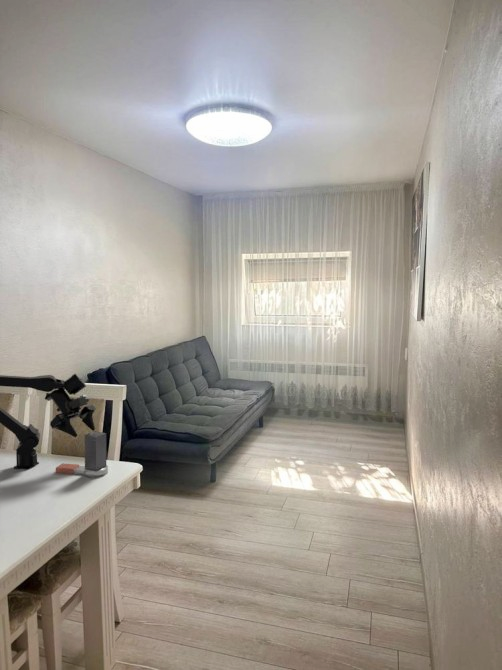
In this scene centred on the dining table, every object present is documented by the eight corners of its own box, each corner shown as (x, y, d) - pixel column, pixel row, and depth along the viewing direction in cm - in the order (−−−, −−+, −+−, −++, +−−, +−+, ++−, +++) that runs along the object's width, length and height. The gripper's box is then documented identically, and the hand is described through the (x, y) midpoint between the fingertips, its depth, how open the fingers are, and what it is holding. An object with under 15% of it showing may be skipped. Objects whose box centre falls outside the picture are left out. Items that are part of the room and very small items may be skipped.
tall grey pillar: (84, 469, 163) (84, 435, 162) (95, 464, 168) (95, 431, 167) (96, 471, 161) (95, 437, 160) (106, 466, 166) (106, 433, 165)
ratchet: (111, 469, 168) (111, 458, 167) (101, 478, 160) (101, 466, 159) (65, 466, 170) (65, 455, 170) (52, 474, 162) (52, 462, 162)
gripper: (55, 393, 161) (78, 426, 157) (91, 385, 178) (113, 414, 175) (40, 412, 165) (62, 445, 161) (77, 402, 182) (98, 431, 178)
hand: (85, 433), depth 169 cm, fingers open, 9 cm apart
